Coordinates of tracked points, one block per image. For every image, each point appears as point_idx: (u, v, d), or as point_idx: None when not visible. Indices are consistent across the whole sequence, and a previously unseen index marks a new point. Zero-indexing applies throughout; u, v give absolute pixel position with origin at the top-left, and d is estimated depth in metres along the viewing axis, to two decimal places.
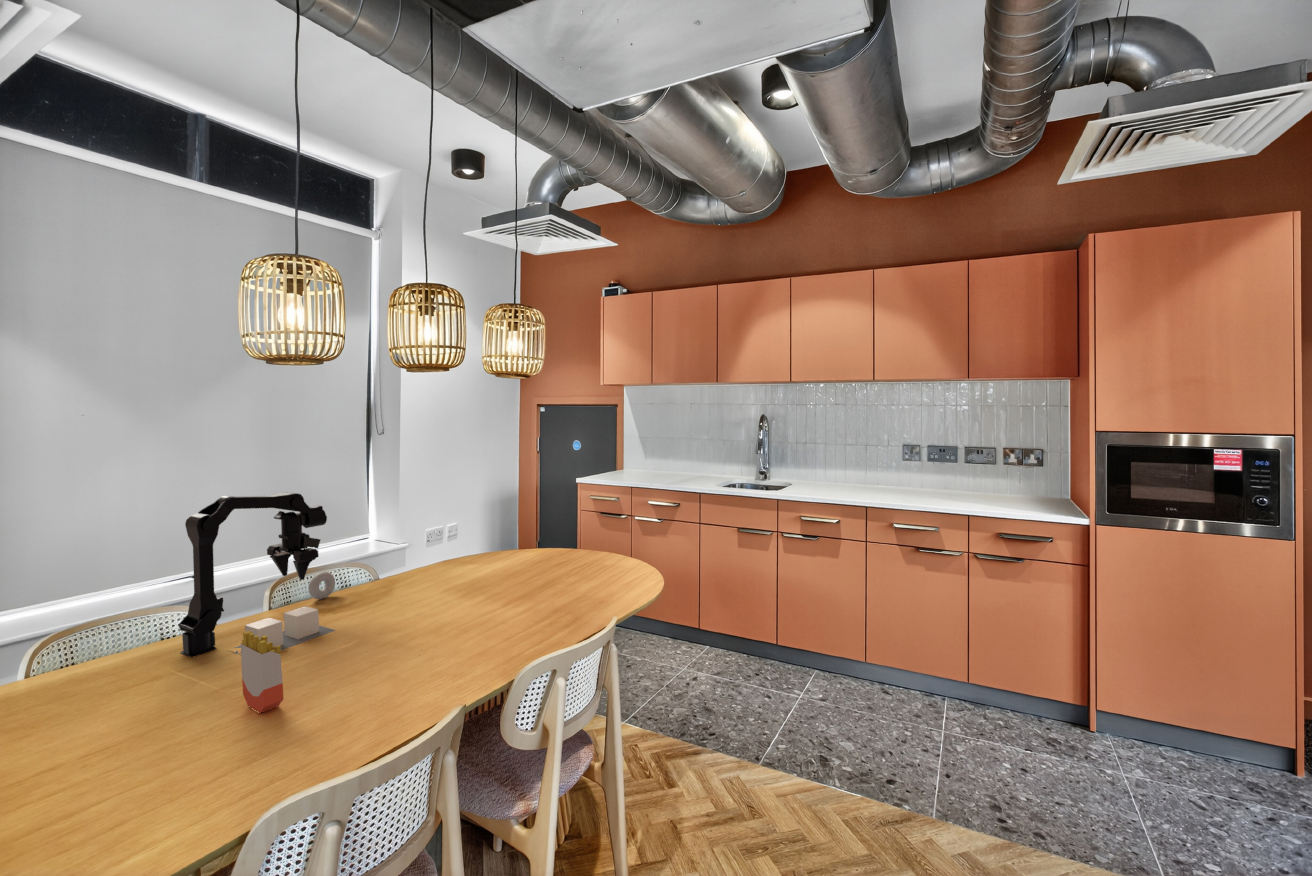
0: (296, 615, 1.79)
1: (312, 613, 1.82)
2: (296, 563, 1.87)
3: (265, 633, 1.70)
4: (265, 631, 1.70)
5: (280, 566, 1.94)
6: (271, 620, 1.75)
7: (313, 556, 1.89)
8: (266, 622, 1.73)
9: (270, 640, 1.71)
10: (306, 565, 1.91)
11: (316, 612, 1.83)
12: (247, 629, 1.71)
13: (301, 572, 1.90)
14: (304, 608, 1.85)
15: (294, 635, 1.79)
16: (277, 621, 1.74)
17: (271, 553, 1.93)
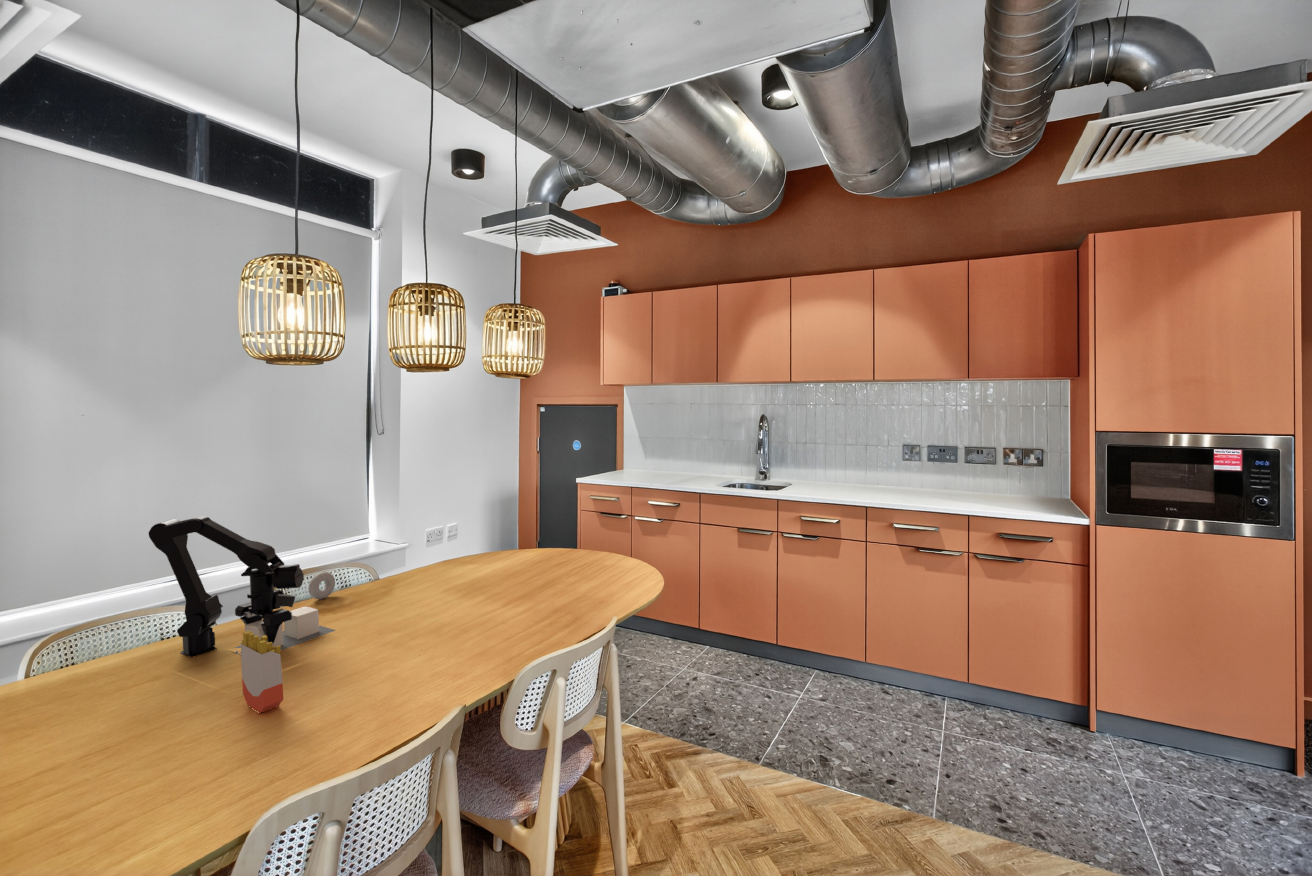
0: (296, 615, 1.79)
1: (312, 613, 1.82)
2: (264, 627, 1.67)
3: None
4: None
5: None
6: None
7: (286, 619, 1.69)
8: None
9: None
10: (276, 628, 1.71)
11: (316, 612, 1.83)
12: (247, 629, 1.71)
13: (270, 636, 1.70)
14: (304, 608, 1.85)
15: (294, 635, 1.79)
16: None
17: (239, 614, 1.72)
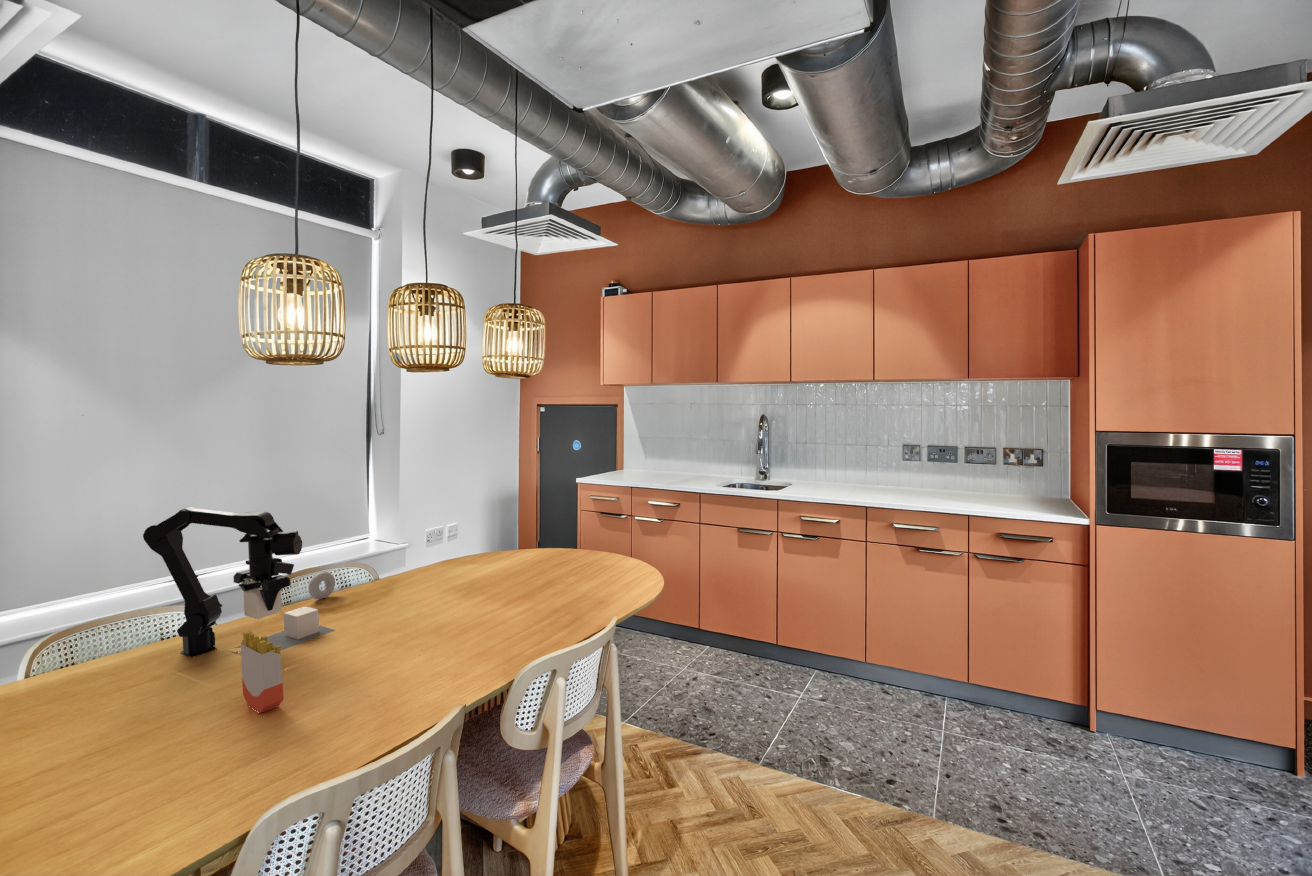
0: (296, 615, 1.79)
1: (312, 613, 1.82)
2: (262, 593, 1.67)
3: None
4: None
5: None
6: None
7: (284, 585, 1.68)
8: None
9: None
10: (274, 594, 1.70)
11: (316, 612, 1.83)
12: (245, 595, 1.70)
13: (269, 602, 1.69)
14: (304, 608, 1.85)
15: (294, 635, 1.79)
16: None
17: (238, 581, 1.72)
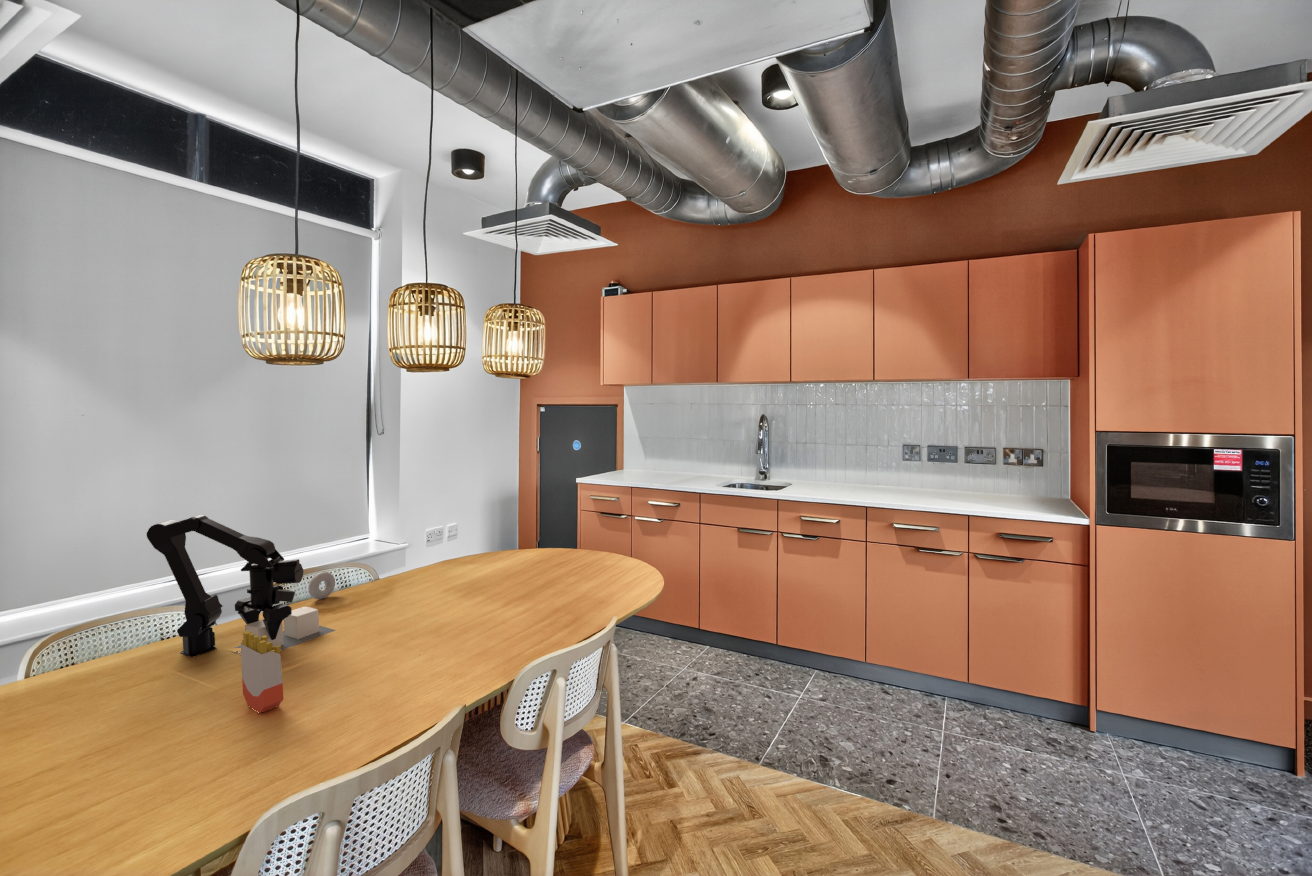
0: (296, 615, 1.79)
1: (312, 613, 1.82)
2: (266, 622, 1.67)
3: (265, 633, 1.70)
4: (265, 631, 1.70)
5: (249, 623, 1.73)
6: None
7: (285, 614, 1.69)
8: None
9: (270, 640, 1.71)
10: (278, 623, 1.70)
11: (316, 612, 1.83)
12: (247, 629, 1.71)
13: (272, 632, 1.69)
14: (304, 608, 1.85)
15: (294, 635, 1.79)
16: None
17: (239, 609, 1.72)
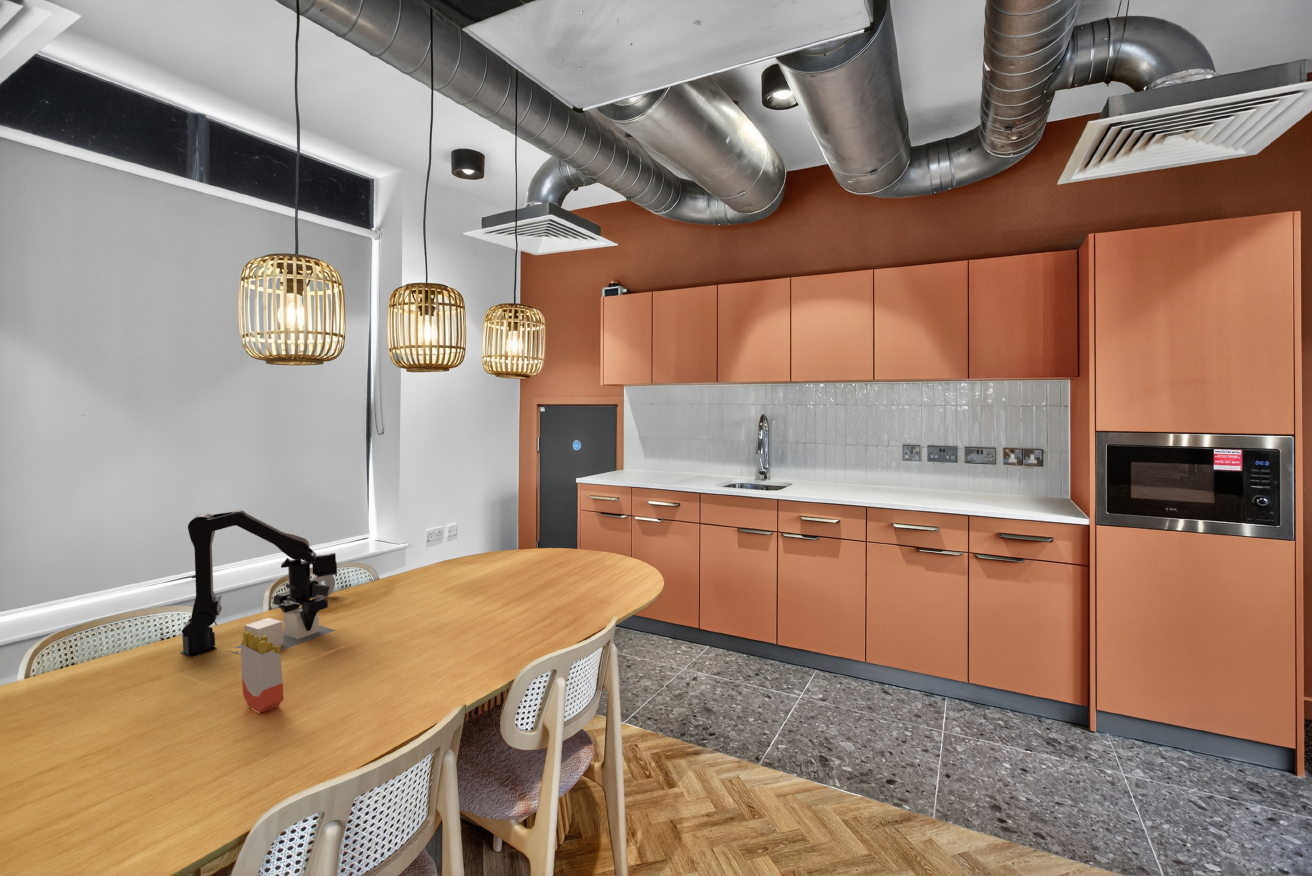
0: (296, 615, 1.79)
1: None
2: (302, 614, 1.77)
3: (265, 633, 1.70)
4: (265, 631, 1.70)
5: None
6: (271, 620, 1.75)
7: (322, 607, 1.79)
8: (266, 622, 1.73)
9: (270, 640, 1.71)
10: (313, 615, 1.81)
11: None
12: (247, 629, 1.71)
13: (308, 623, 1.80)
14: None
15: (294, 635, 1.79)
16: (277, 621, 1.74)
17: (278, 603, 1.82)
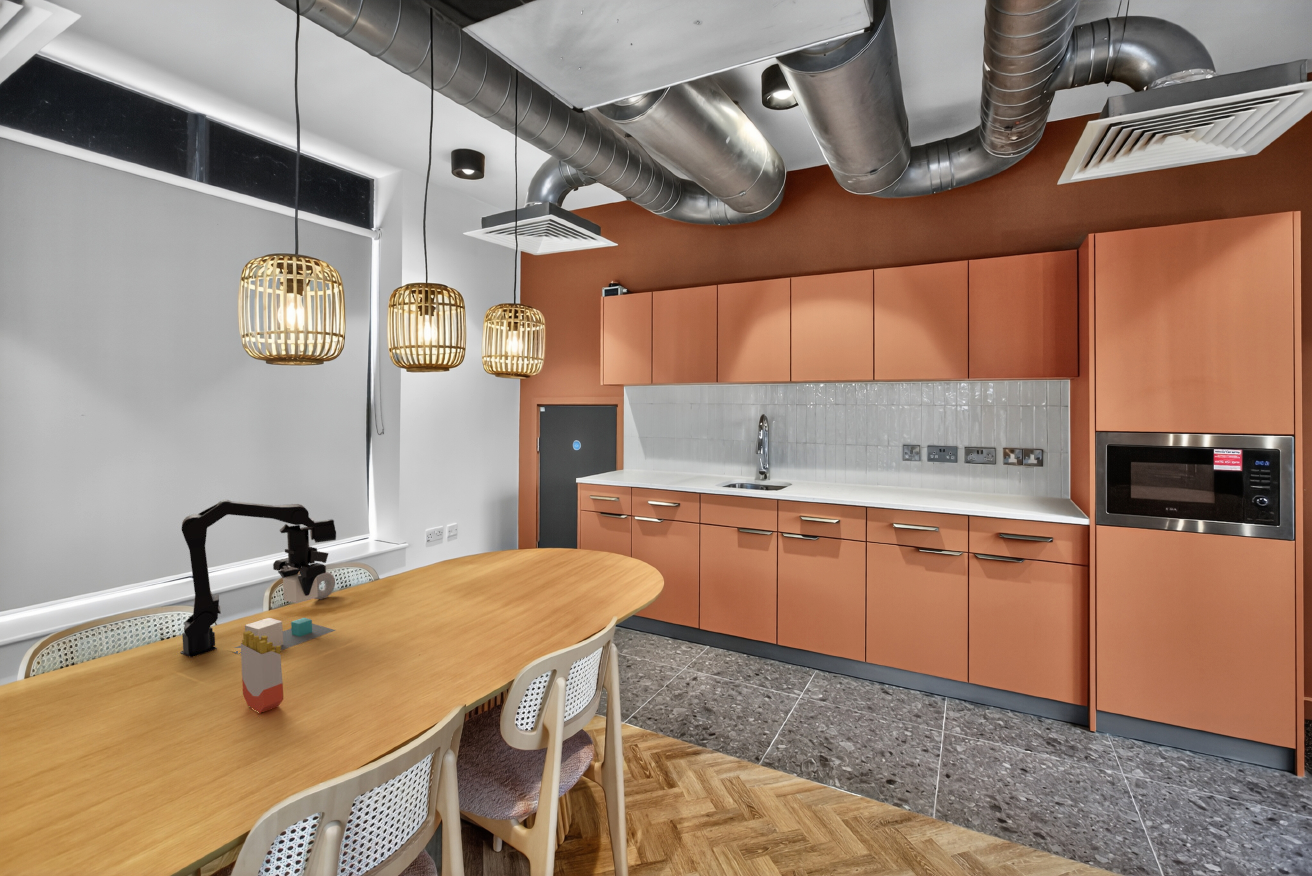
0: (295, 580, 1.81)
1: None
2: (301, 579, 1.80)
3: (265, 633, 1.70)
4: (265, 631, 1.70)
5: None
6: (271, 620, 1.75)
7: (320, 572, 1.81)
8: (266, 622, 1.73)
9: (270, 640, 1.71)
10: (311, 580, 1.83)
11: (315, 578, 1.86)
12: (247, 629, 1.71)
13: (306, 588, 1.82)
14: None
15: (293, 599, 1.81)
16: (277, 621, 1.74)
17: (277, 568, 1.85)
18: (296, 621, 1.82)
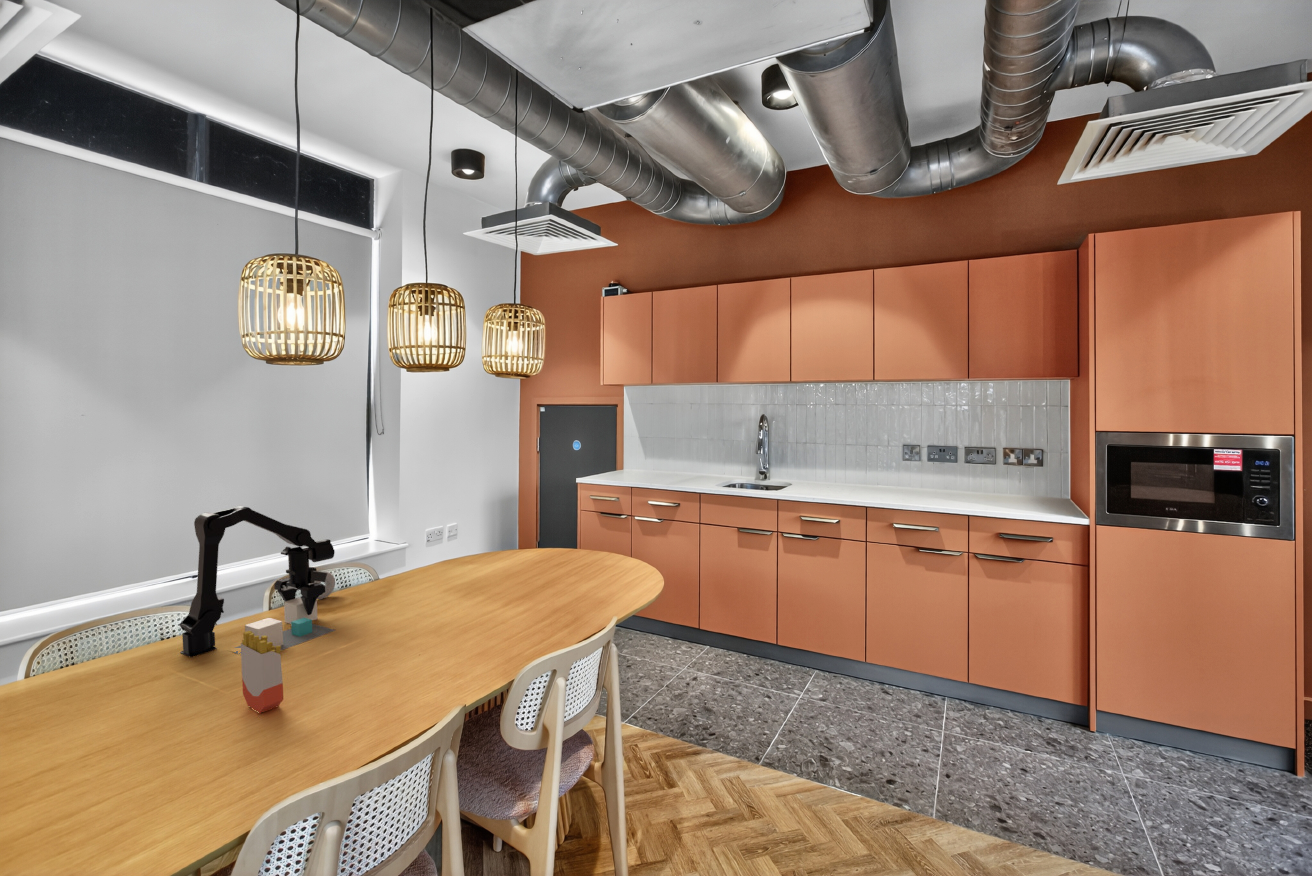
0: (296, 604, 1.90)
1: None
2: (303, 599, 1.87)
3: (265, 633, 1.70)
4: (265, 631, 1.70)
5: None
6: (271, 620, 1.75)
7: (320, 591, 1.89)
8: (266, 622, 1.73)
9: (270, 640, 1.71)
10: (313, 600, 1.91)
11: None
12: (247, 629, 1.71)
13: (308, 608, 1.90)
14: None
15: None
16: (277, 621, 1.74)
17: (278, 588, 1.93)
18: (296, 621, 1.82)
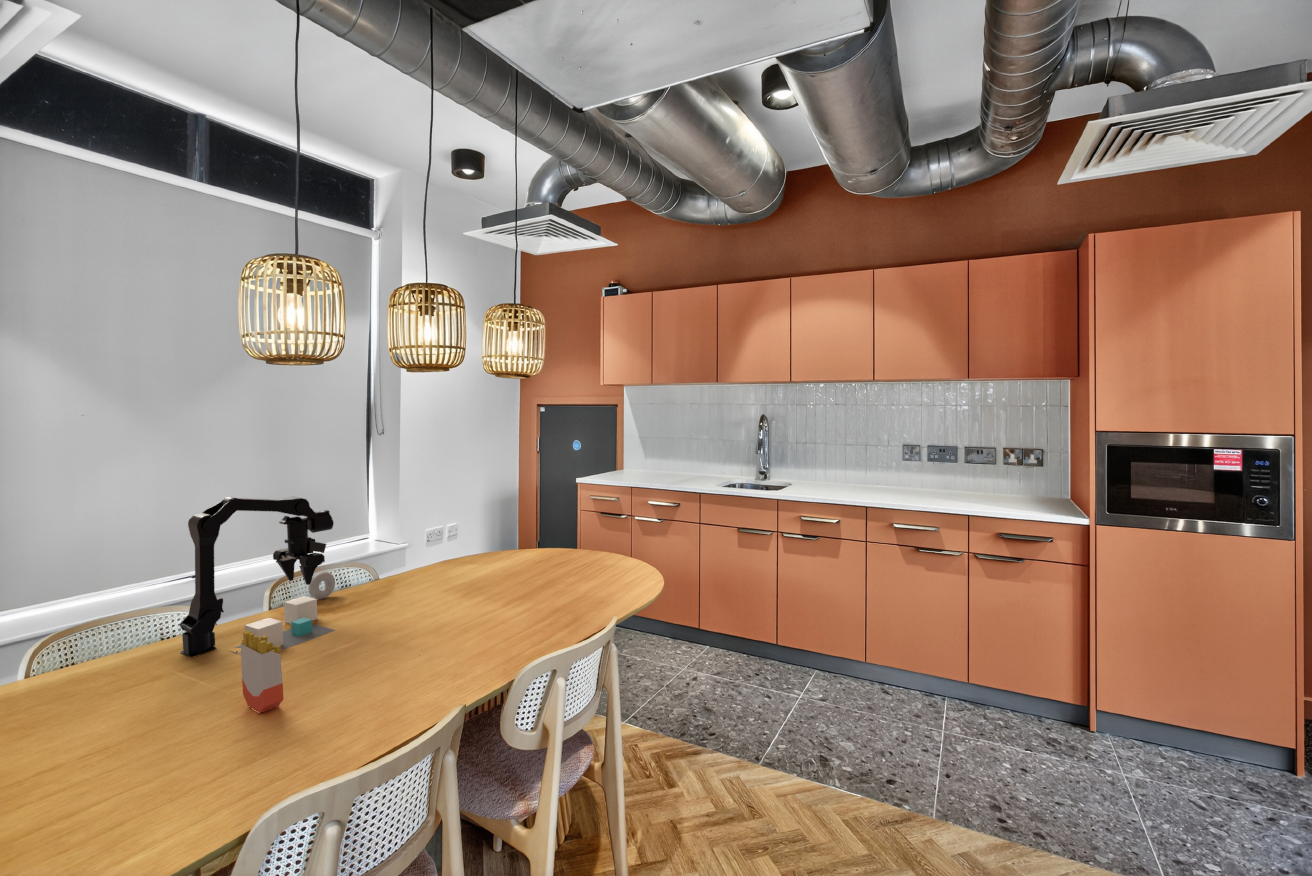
0: (296, 604, 1.90)
1: (311, 602, 1.93)
2: (302, 568, 1.87)
3: (265, 633, 1.70)
4: (265, 631, 1.70)
5: (286, 571, 1.93)
6: (271, 620, 1.75)
7: (319, 561, 1.89)
8: (266, 622, 1.73)
9: (270, 640, 1.71)
10: (312, 570, 1.90)
11: (315, 601, 1.94)
12: (247, 629, 1.71)
13: (307, 577, 1.89)
14: (303, 597, 1.96)
15: None
16: (277, 621, 1.74)
17: (277, 558, 1.92)
18: (296, 621, 1.82)
